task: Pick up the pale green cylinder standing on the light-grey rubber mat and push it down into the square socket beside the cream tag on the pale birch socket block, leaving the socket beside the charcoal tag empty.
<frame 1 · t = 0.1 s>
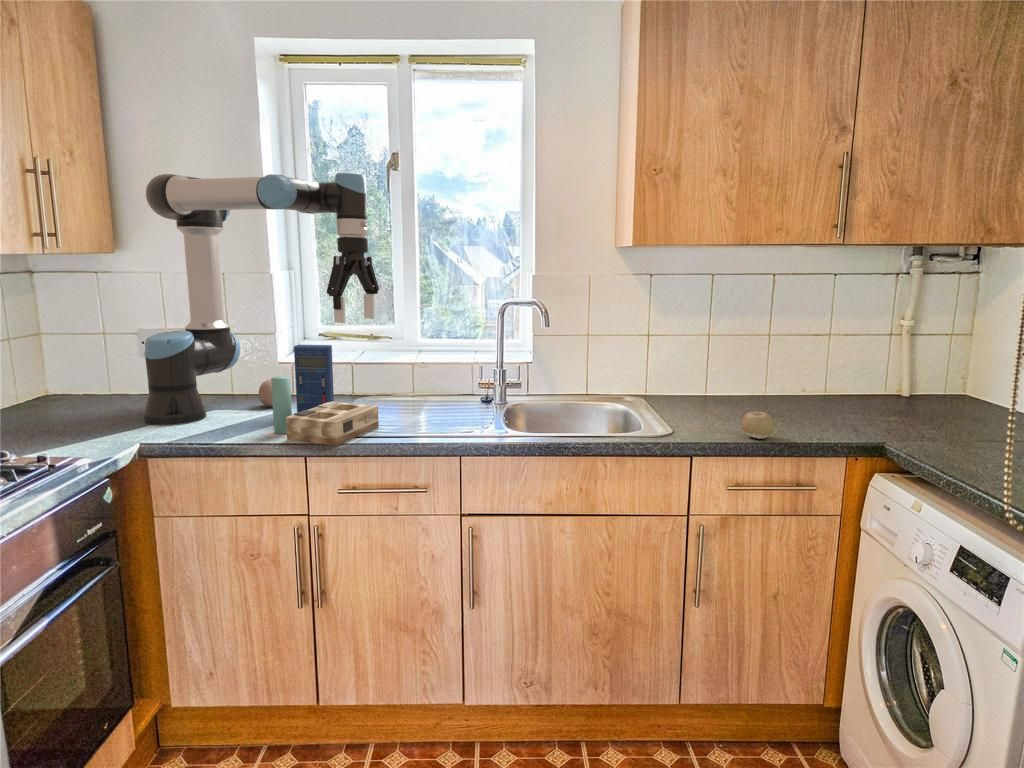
hand: (355, 320, 167), 28 cm above the counter, fingers open, 13 cm apart
electronic device: (316, 416, 181), on the counter
socket block: (334, 434, 163), on the counter
pale green cylinder: (283, 432, 162), resting on mat
mat: (283, 434, 162), on the counter
fruit: (756, 438, 166), on the counter
egg: (272, 407, 192), on the counter
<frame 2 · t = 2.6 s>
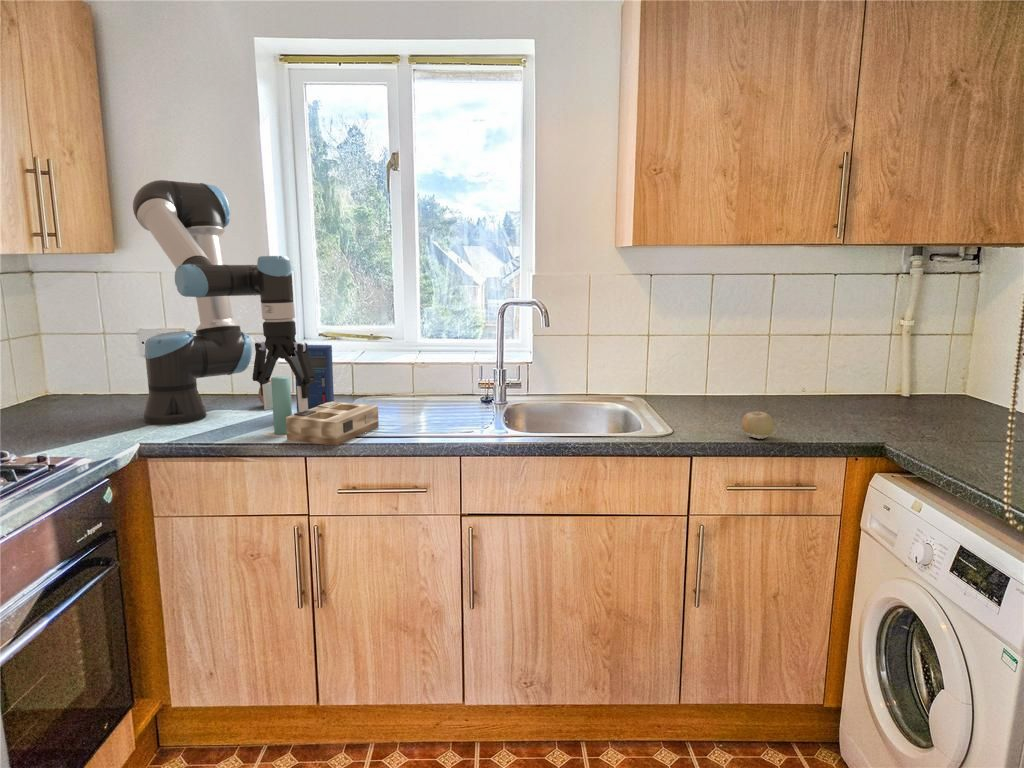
hand: (286, 409, 161), 6 cm above the counter, fingers open, 10 cm apart
nothing on the counter moved.
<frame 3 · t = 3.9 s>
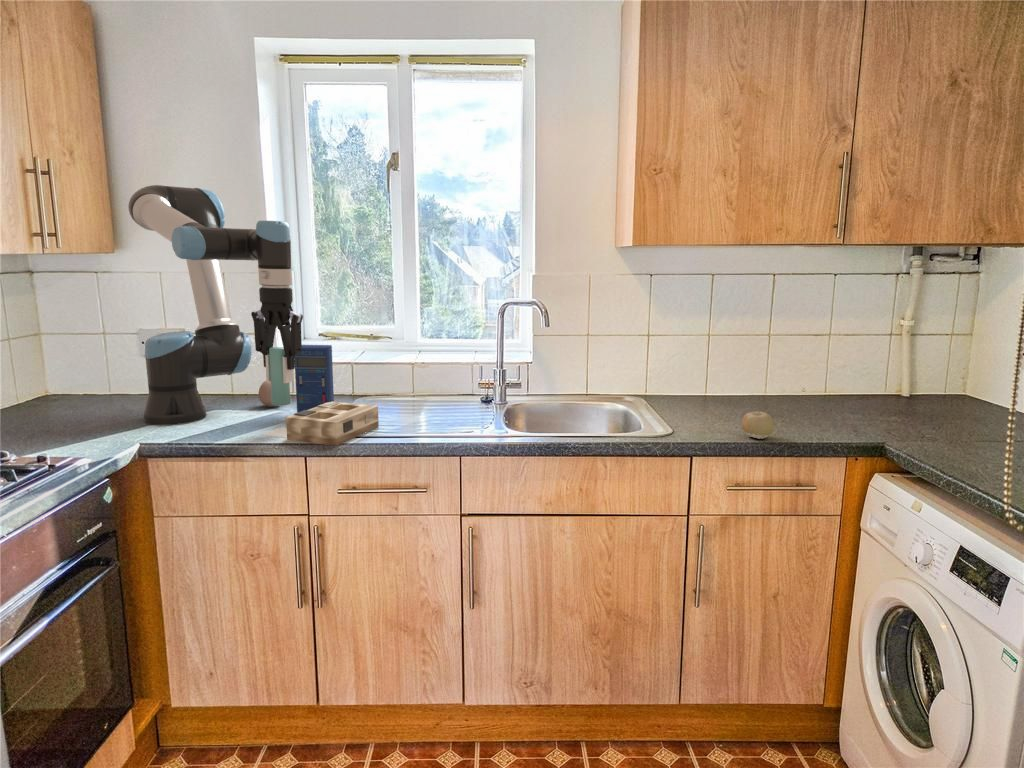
hand: (279, 381, 160), 14 cm above the counter, fingers closed on pale green cylinder, 4 cm apart
pale green cylinder: (281, 403, 161), point 8 cm above the counter, touching gripper
everything else where it was.
when the fingers open (8 cm above the counter, at t = 6.7 s): pale green cylinder stays where it is, resting on socket block.
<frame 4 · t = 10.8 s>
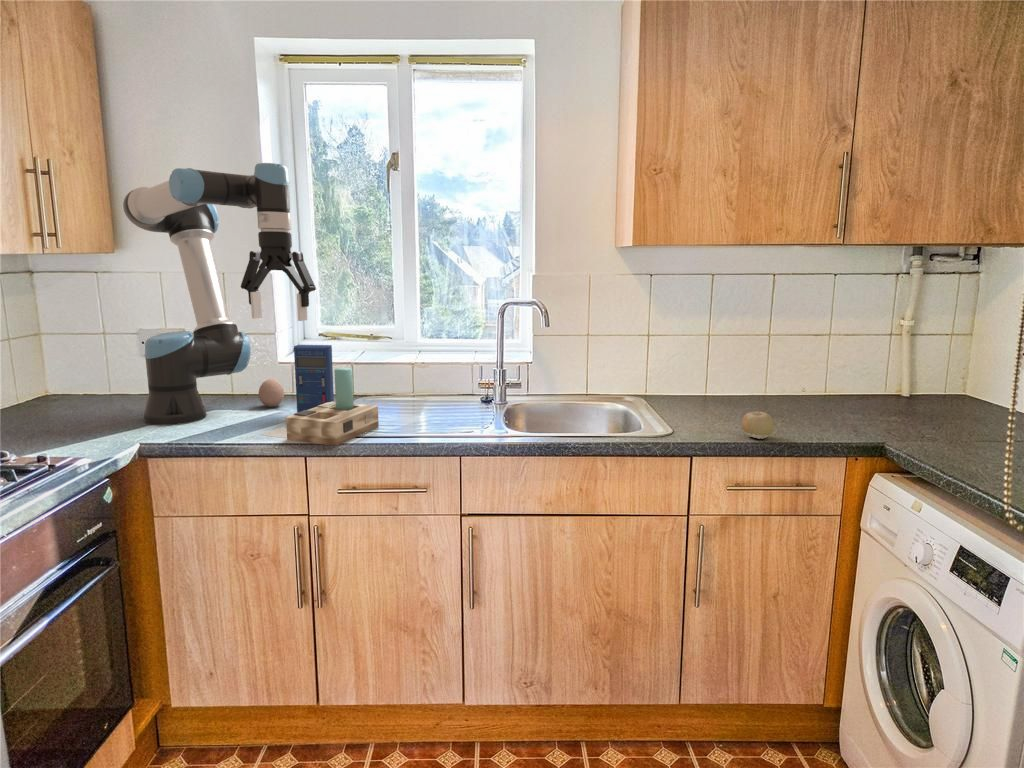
hand: (279, 319, 159), 29 cm above the counter, fingers open, 13 cm apart
pale green cylinder: (345, 422, 167), point 2 cm above the counter, touching socket block
everything else where it was.
at the end: pale green cylinder 0.1 cm from the target spot on the socket block, point 2.0 cm above the socket block's base; pale green cylinder tilted 0°; the gripper is holding nothing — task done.
